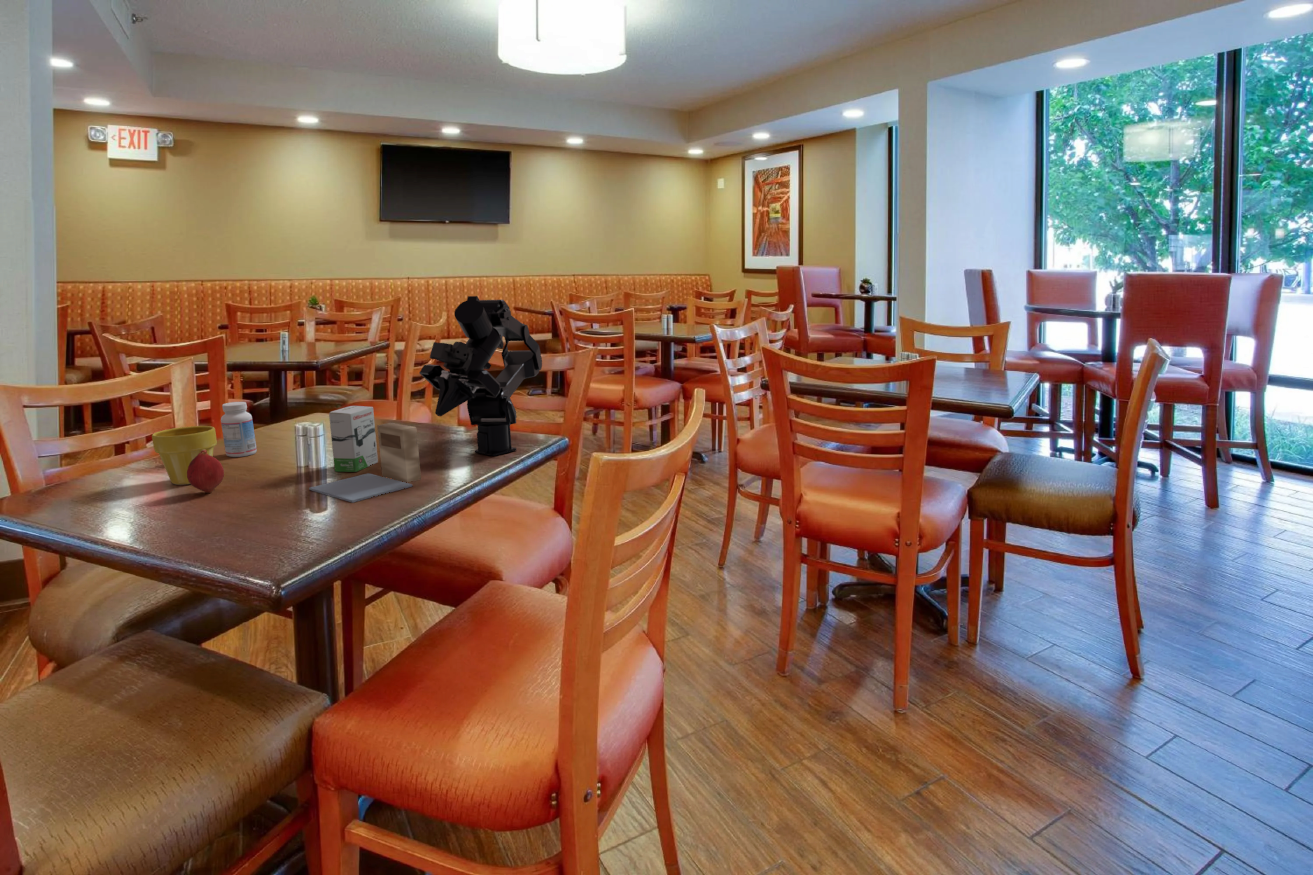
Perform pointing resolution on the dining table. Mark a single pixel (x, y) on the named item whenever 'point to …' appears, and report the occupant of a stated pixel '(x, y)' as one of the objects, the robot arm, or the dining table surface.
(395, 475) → the maple slab
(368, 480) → the rubber mat
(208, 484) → the onion
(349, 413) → the ink box
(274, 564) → the dining table surface
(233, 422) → the pill bottle
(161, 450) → the plant pot
